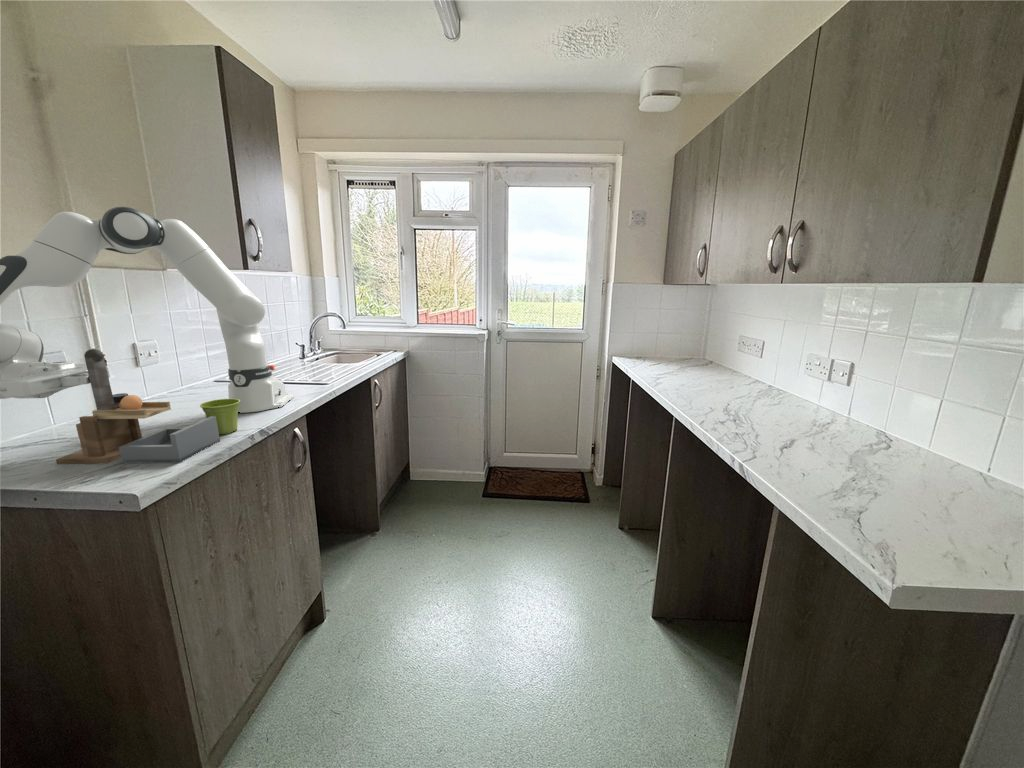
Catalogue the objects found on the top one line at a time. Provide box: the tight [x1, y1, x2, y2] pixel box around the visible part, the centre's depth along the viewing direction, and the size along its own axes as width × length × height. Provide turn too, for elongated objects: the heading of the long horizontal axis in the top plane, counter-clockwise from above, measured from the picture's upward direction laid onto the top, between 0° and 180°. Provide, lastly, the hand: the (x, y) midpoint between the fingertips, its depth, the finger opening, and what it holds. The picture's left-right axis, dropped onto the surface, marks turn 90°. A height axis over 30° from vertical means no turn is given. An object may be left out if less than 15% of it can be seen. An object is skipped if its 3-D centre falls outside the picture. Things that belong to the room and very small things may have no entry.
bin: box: [119, 416, 221, 464], centre depth 104 cm, size 14×14×7 cm
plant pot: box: [199, 398, 240, 435], centre depth 118 cm, size 9×9×9 cm
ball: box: [120, 394, 143, 410], centre depth 102 cm, size 4×4×4 cm
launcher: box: [83, 348, 172, 421], centre depth 101 cm, size 9×14×17 cm, turn 91°
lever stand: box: [55, 415, 143, 465], centre depth 103 cm, size 14×12×11 cm
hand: (92, 379), depth 100 cm, fingers closed
